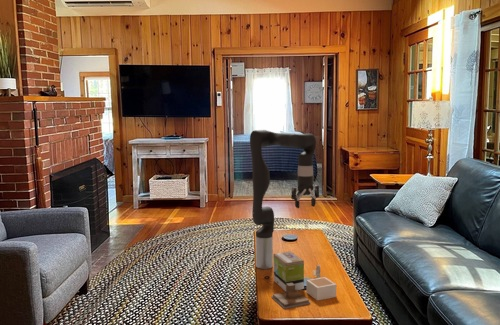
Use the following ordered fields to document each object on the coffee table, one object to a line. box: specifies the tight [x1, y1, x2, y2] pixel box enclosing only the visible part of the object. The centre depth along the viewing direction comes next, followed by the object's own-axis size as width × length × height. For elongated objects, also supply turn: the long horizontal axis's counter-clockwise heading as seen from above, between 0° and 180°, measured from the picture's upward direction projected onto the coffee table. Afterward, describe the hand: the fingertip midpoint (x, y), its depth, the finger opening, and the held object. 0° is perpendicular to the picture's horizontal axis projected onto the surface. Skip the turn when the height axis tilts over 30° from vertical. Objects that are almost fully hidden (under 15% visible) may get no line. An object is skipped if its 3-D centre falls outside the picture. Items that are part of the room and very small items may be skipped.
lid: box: [272, 283, 310, 307], centre depth 199 cm, size 12×12×7 cm
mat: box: [271, 295, 311, 310], centre depth 200 cm, size 13×13×1 cm
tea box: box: [273, 250, 305, 292], centre depth 216 cm, size 15×10×15 cm, turn 21°
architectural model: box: [312, 263, 321, 278], centre depth 225 cm, size 3×7×7 cm, turn 174°
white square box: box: [306, 276, 337, 301], centre depth 205 cm, size 10×10×6 cm
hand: (305, 207), depth 217 cm, fingers open, 8 cm apart
